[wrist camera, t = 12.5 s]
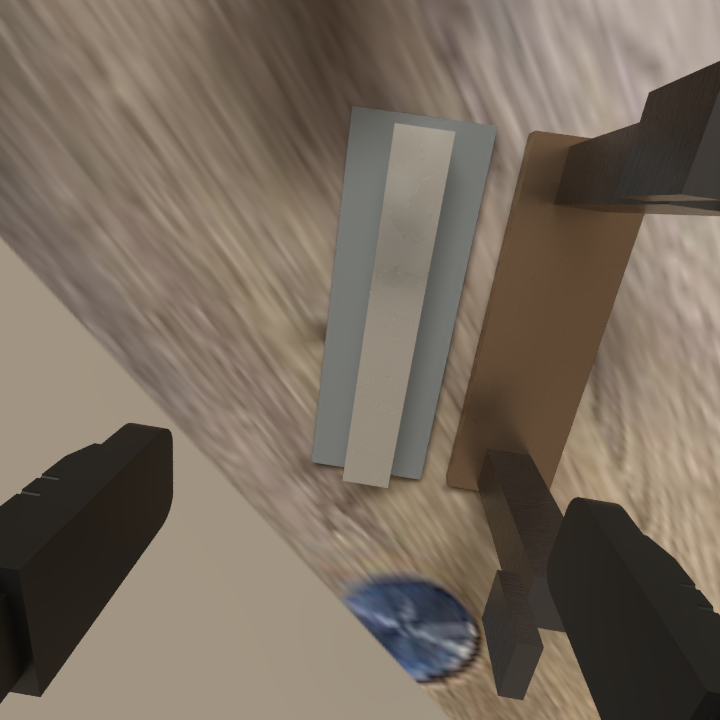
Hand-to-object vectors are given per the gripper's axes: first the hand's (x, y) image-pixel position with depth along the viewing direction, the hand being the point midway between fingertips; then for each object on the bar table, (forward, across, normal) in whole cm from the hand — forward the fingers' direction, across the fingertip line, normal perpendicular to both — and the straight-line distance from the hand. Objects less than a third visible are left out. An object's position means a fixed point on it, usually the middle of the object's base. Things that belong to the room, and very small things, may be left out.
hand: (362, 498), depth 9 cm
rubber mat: (+21, -1, +1) cm, 21 cm away
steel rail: (+20, -1, +1) cm, 20 cm away
